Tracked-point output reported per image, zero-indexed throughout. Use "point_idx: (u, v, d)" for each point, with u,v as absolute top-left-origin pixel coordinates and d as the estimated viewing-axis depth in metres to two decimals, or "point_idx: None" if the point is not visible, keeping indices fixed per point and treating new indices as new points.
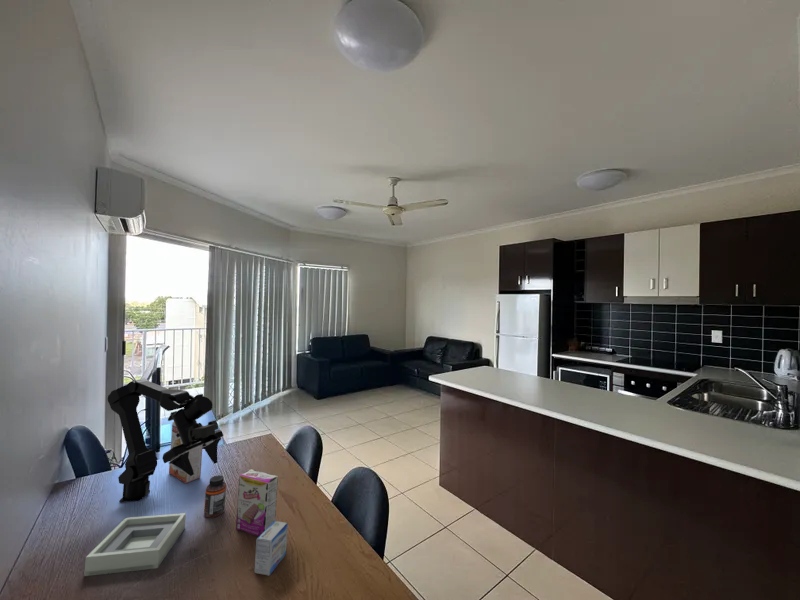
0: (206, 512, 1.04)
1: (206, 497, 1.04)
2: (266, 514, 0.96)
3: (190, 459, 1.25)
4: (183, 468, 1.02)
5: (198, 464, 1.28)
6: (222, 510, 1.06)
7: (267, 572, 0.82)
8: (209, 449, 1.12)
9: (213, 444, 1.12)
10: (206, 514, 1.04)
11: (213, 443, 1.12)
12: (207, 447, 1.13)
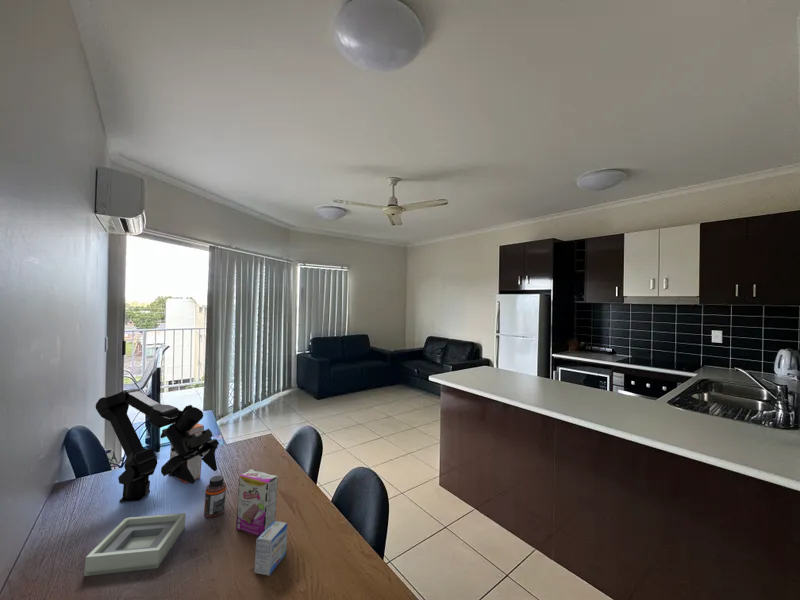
0: (206, 512, 1.04)
1: (206, 497, 1.04)
2: (266, 514, 0.96)
3: (190, 459, 1.25)
4: (183, 478, 1.03)
5: (198, 464, 1.28)
6: (222, 510, 1.06)
7: (267, 572, 0.82)
8: (207, 459, 1.14)
9: (210, 453, 1.14)
10: (206, 514, 1.04)
11: (210, 452, 1.14)
12: (204, 457, 1.14)
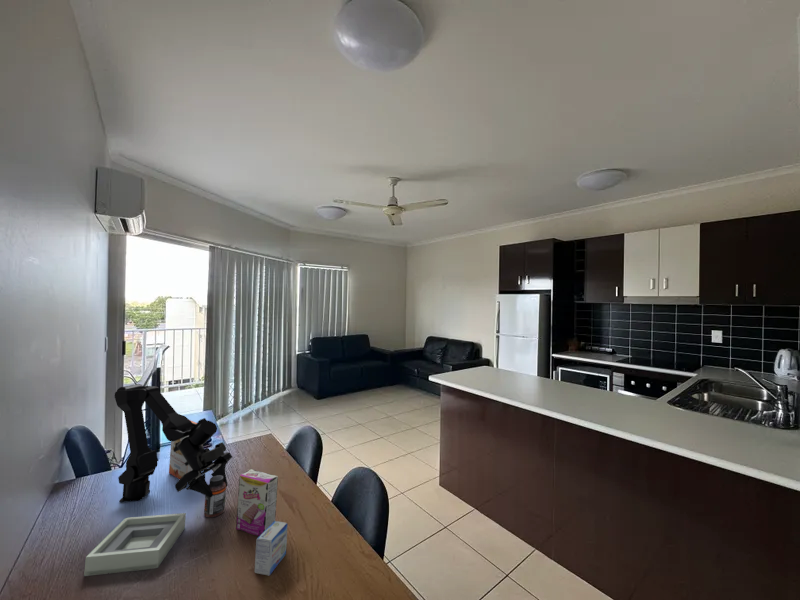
0: (206, 512, 1.04)
1: (206, 497, 1.04)
2: (266, 514, 0.96)
3: None
4: (202, 491, 1.03)
5: None
6: (222, 510, 1.06)
7: (267, 572, 0.82)
8: (217, 474, 1.11)
9: (220, 468, 1.11)
10: (206, 514, 1.04)
11: (220, 467, 1.11)
12: (214, 473, 1.11)
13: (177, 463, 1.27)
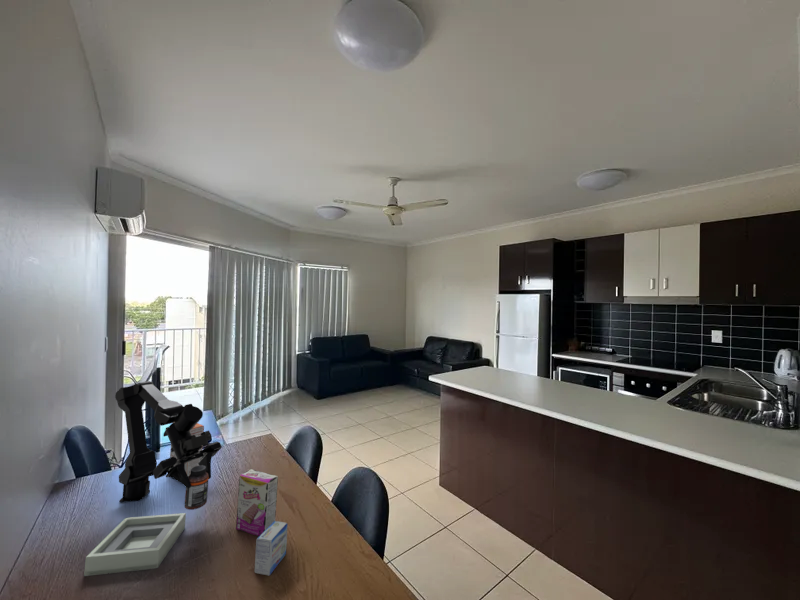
0: (185, 503, 0.98)
1: (186, 487, 0.98)
2: (266, 514, 0.96)
3: None
4: (180, 480, 0.97)
5: (198, 464, 1.28)
6: (202, 503, 0.99)
7: (267, 572, 0.82)
8: (202, 464, 1.05)
9: (206, 458, 1.05)
10: (185, 505, 0.98)
11: (206, 457, 1.05)
12: (200, 462, 1.06)
13: None
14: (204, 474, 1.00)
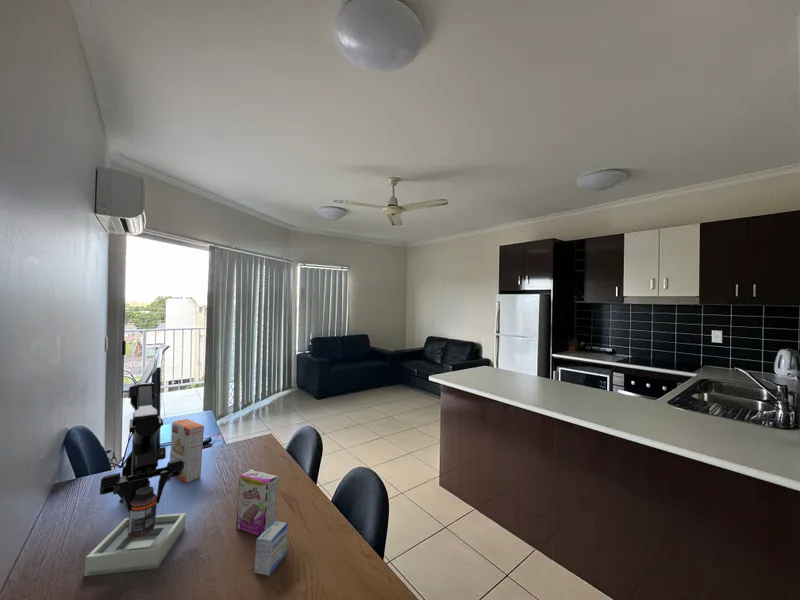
0: (128, 528, 0.88)
1: None
2: (266, 514, 0.96)
3: (190, 459, 1.25)
4: (123, 501, 0.88)
5: (198, 464, 1.28)
6: (143, 532, 0.87)
7: (267, 572, 0.82)
8: (158, 484, 0.94)
9: (160, 478, 0.94)
10: (128, 530, 0.88)
11: (160, 477, 0.94)
12: (159, 481, 0.95)
13: None
14: (148, 498, 0.89)
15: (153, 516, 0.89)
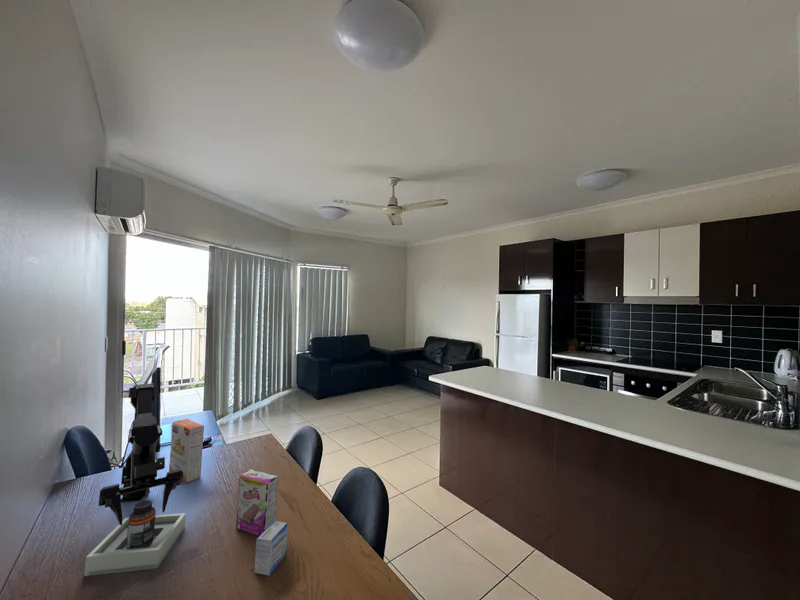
0: (127, 542, 0.87)
1: None
2: (266, 514, 0.96)
3: (190, 459, 1.25)
4: (115, 514, 0.87)
5: (198, 464, 1.28)
6: (142, 546, 0.87)
7: (267, 572, 0.82)
8: (164, 493, 0.95)
9: (165, 487, 0.94)
10: None
11: (165, 486, 0.94)
12: (164, 490, 0.96)
13: (177, 463, 1.27)
14: (147, 512, 0.89)
15: (152, 530, 0.89)
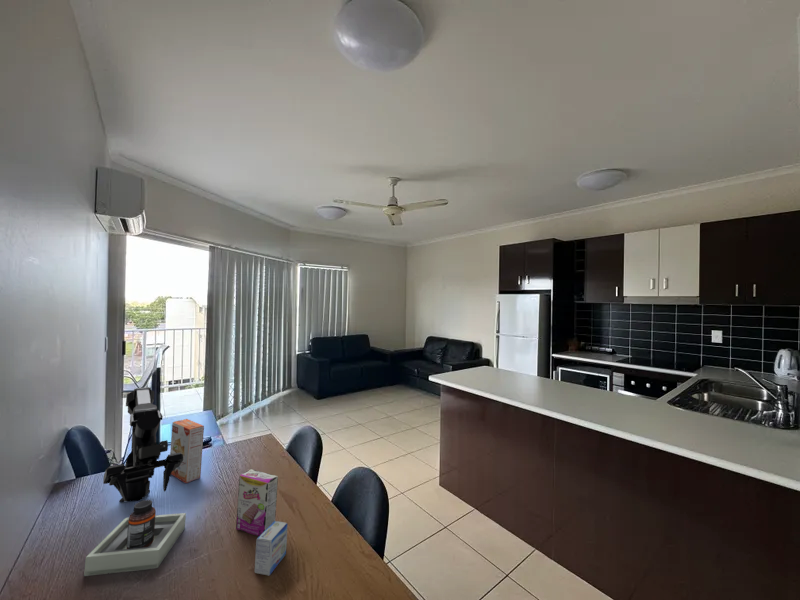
0: (127, 542, 0.87)
1: None
2: (266, 514, 0.96)
3: (190, 459, 1.25)
4: (120, 492, 0.93)
5: (198, 464, 1.28)
6: (142, 546, 0.87)
7: (267, 572, 0.82)
8: (164, 474, 1.01)
9: (166, 468, 1.01)
10: None
11: (167, 467, 1.01)
12: (164, 471, 1.02)
13: None
14: (147, 512, 0.89)
15: (152, 530, 0.89)
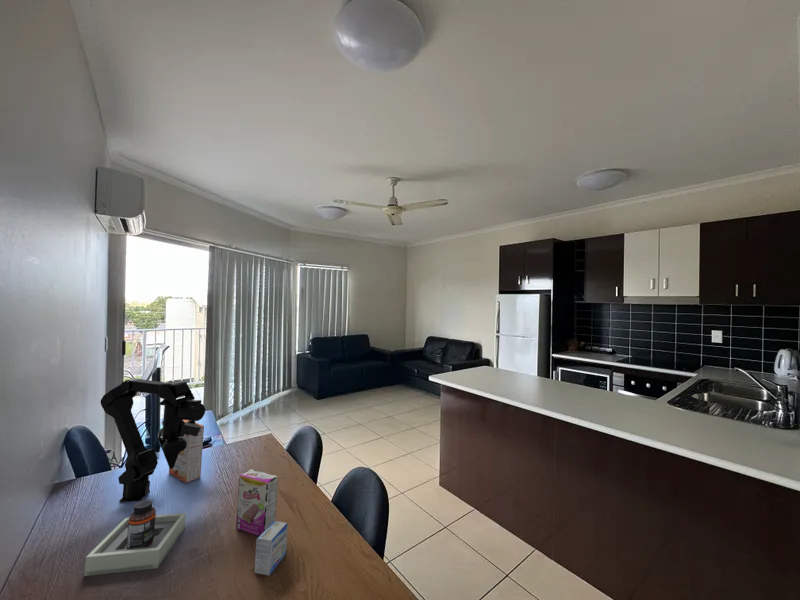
0: (127, 542, 0.87)
1: None
2: (266, 514, 0.96)
3: (190, 459, 1.25)
4: (169, 460, 1.07)
5: (198, 464, 1.28)
6: (142, 546, 0.87)
7: (267, 572, 0.82)
8: None
9: None
10: None
11: None
12: (164, 441, 1.15)
13: (177, 463, 1.27)
14: (147, 512, 0.89)
15: (152, 530, 0.89)
